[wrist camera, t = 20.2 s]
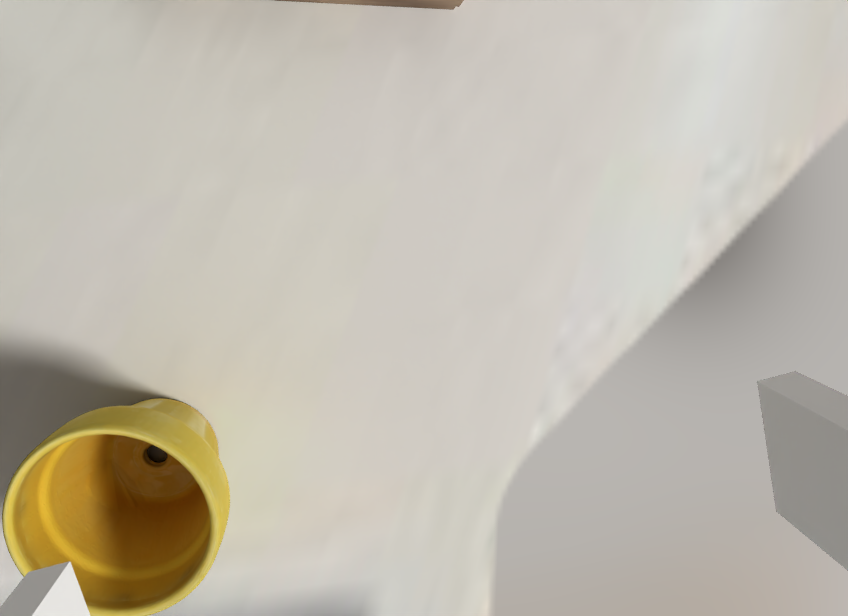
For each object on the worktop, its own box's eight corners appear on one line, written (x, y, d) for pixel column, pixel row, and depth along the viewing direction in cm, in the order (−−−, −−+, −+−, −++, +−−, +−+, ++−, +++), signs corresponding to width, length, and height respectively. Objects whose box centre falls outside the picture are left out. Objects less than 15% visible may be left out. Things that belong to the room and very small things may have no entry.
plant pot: (80, 531, 46) (9, 628, 37) (66, 370, 44) (-12, 427, 35) (250, 525, 47) (225, 618, 38) (244, 367, 45) (216, 423, 36)
